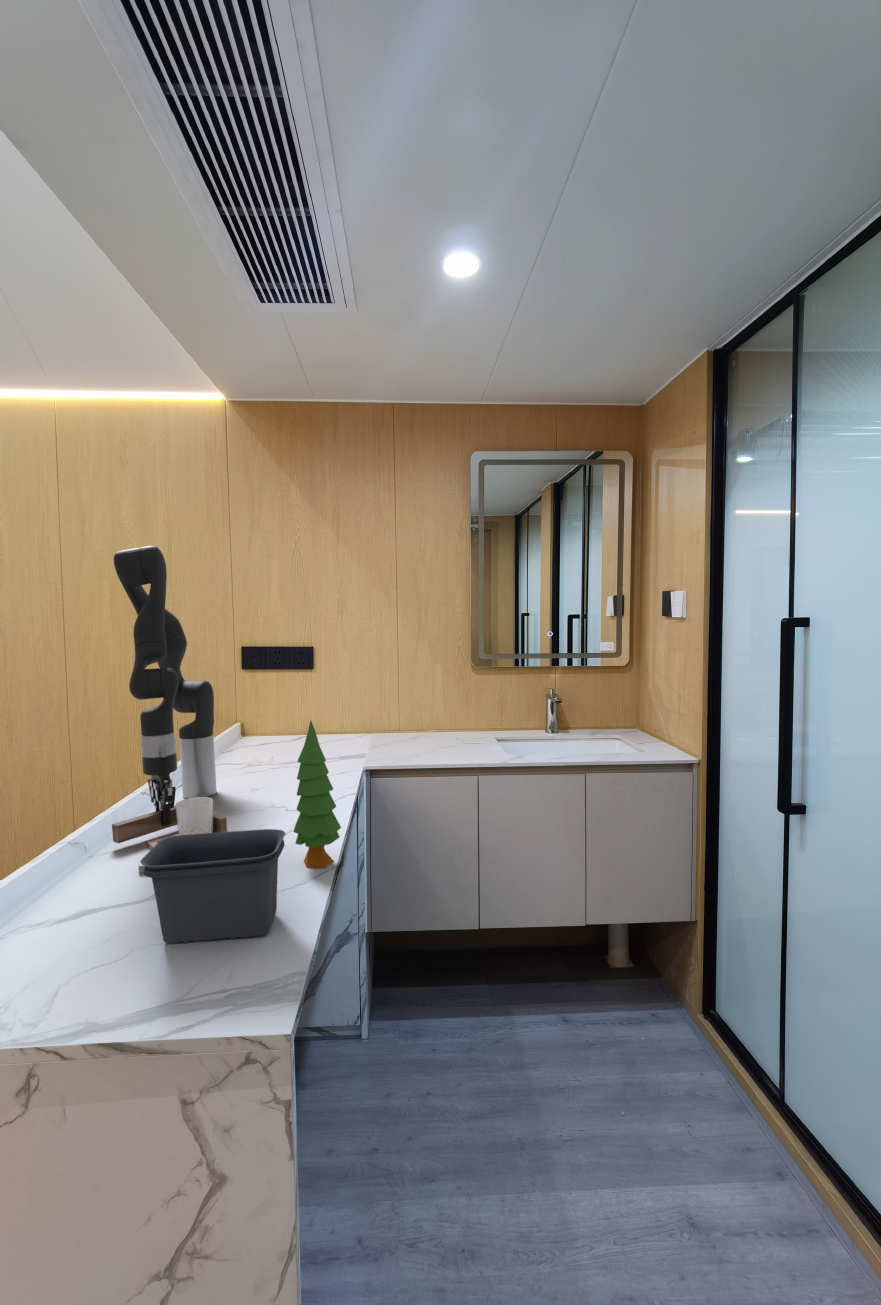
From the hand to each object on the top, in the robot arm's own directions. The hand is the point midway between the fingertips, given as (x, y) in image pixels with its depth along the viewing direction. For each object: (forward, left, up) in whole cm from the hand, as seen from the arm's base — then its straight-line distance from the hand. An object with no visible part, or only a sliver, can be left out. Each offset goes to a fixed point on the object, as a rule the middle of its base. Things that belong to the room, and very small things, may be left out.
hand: (163, 823), depth 152 cm
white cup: (+13, +3, -3) cm, 14 cm away
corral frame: (+13, +2, -3) cm, 14 cm away
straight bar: (+24, -4, -3) cm, 25 cm away
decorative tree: (+42, +18, -3) cm, 46 cm away
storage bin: (+54, -7, -3) cm, 54 cm away
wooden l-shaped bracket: (+9, -1, -1) cm, 9 cm away
